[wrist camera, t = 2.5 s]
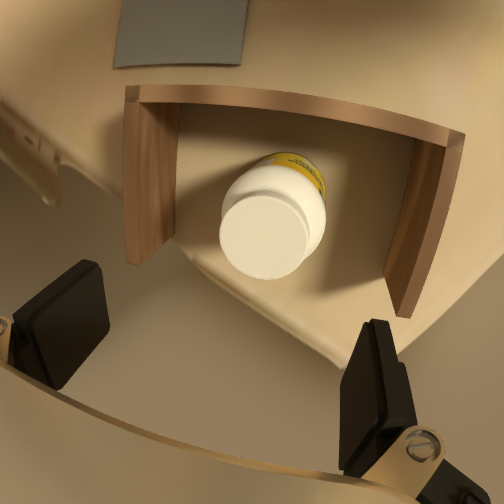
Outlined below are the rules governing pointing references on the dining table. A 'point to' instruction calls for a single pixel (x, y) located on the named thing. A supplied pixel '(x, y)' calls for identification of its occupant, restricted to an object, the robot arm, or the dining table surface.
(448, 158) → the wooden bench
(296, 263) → the pill bottle
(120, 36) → the slate mat
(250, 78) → the dining table surface
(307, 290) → the dining table surface
